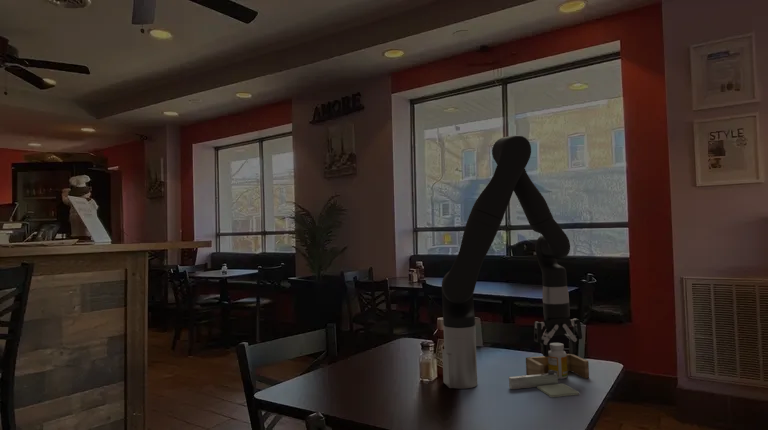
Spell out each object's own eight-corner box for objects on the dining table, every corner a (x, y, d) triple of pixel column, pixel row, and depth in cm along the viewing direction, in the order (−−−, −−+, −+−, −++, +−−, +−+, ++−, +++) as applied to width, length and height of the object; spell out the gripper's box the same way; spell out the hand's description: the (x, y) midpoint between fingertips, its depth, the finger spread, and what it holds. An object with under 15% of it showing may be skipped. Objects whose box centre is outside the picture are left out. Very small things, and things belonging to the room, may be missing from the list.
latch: (511, 389, 144) (511, 374, 144) (509, 387, 145) (508, 373, 146) (558, 384, 146) (557, 370, 146) (555, 383, 148) (554, 369, 148)
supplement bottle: (565, 373, 157) (563, 341, 157) (569, 379, 152) (568, 346, 152) (546, 374, 158) (545, 342, 158) (550, 379, 152) (549, 346, 153)
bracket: (540, 382, 150) (539, 365, 150) (526, 373, 159) (525, 357, 159) (589, 378, 152) (588, 361, 152) (572, 369, 161) (571, 353, 161)
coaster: (551, 397, 137) (551, 395, 137) (537, 388, 145) (537, 386, 145) (579, 394, 138) (579, 392, 138) (563, 385, 146) (563, 383, 146)
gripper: (539, 304, 150) (542, 360, 150) (584, 300, 152) (587, 356, 152) (528, 301, 157) (531, 354, 157) (571, 297, 160) (574, 350, 159)
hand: (559, 355), depth 155 cm, fingers open, 8 cm apart
